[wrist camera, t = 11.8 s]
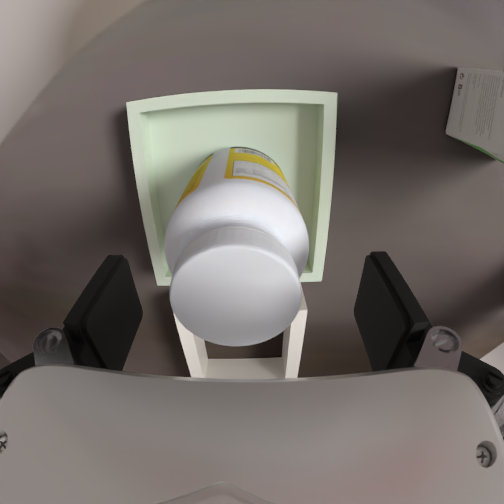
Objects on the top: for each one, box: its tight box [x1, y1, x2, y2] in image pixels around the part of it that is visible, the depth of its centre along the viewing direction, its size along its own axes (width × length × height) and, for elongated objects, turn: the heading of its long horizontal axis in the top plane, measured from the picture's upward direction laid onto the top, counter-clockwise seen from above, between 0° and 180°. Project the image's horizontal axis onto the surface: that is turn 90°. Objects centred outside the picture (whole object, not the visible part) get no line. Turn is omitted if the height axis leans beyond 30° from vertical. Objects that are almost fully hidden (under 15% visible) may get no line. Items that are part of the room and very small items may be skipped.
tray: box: [126, 89, 337, 285], centre depth 20 cm, size 13×14×2 cm
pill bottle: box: [164, 146, 309, 346], centre depth 15 cm, size 6×6×12 cm
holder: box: [173, 283, 307, 379], centre depth 29 cm, size 10×21×4 cm, turn 1°
